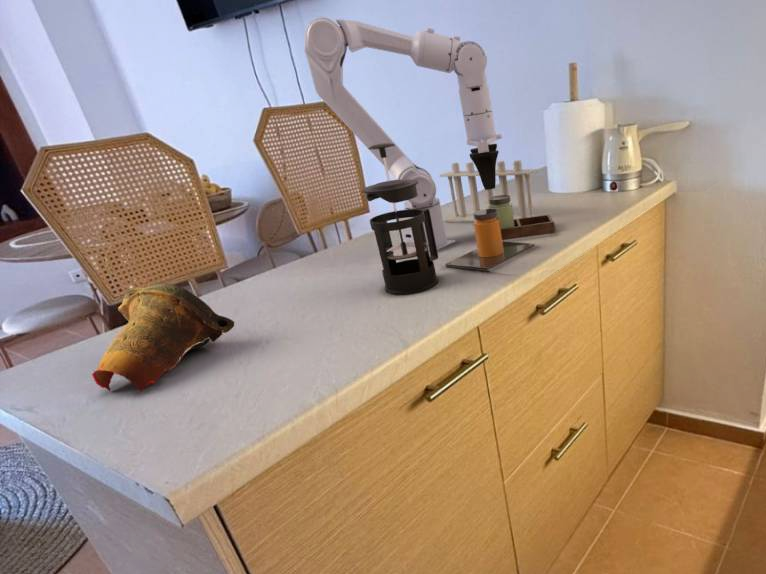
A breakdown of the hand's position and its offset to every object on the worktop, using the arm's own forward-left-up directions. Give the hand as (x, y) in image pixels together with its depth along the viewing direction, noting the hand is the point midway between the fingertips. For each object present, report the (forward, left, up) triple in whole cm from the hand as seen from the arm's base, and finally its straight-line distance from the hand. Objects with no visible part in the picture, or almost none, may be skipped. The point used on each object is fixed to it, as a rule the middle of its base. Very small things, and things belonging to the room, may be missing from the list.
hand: (489, 185), depth 114 cm
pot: (-66, +10, -11) cm, 67 cm away
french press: (-30, -4, -11) cm, 32 cm away
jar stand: (+1, -5, -10) cm, 12 cm away
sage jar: (-1, -3, -10) cm, 10 cm away
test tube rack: (+11, +10, -11) cm, 18 cm away
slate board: (-13, -9, -10) cm, 19 cm away
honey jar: (-13, -9, -10) cm, 19 cm away
